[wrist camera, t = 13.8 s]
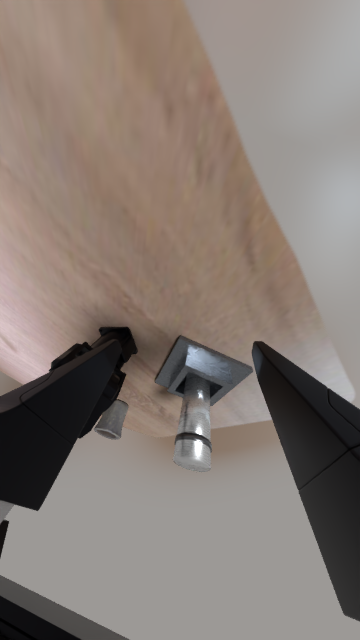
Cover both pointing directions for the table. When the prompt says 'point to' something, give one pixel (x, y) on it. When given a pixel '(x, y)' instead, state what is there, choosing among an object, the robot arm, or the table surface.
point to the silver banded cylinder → (194, 426)
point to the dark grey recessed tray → (201, 369)
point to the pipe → (112, 420)
